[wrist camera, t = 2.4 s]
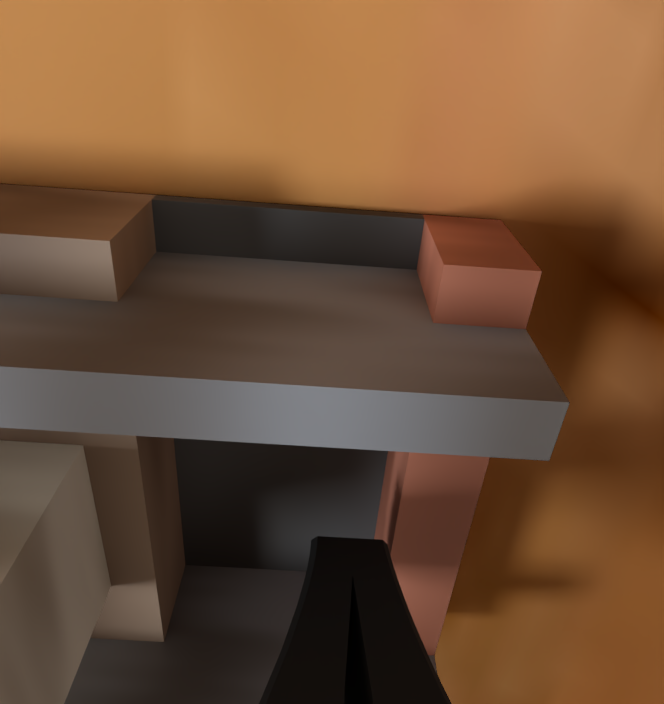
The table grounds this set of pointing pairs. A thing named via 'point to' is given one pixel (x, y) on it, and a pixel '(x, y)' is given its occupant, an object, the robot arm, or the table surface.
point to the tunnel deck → (261, 408)
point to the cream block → (46, 569)
